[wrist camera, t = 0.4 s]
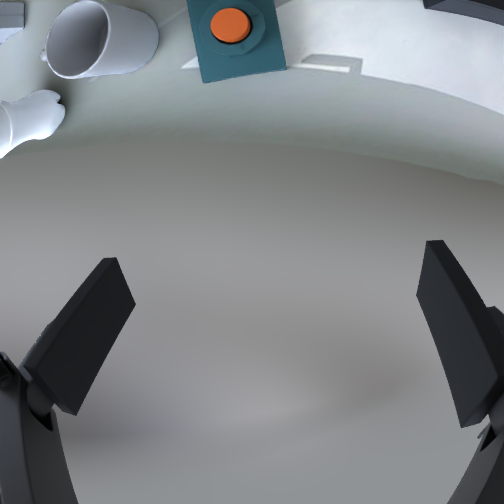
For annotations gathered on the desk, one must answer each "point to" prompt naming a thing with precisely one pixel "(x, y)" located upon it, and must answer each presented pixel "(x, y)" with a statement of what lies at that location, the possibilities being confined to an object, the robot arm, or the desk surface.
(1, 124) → the water bottle
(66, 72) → the mug
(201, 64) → the stop button base
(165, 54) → the desk surface
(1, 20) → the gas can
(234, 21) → the stop button
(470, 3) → the black box
